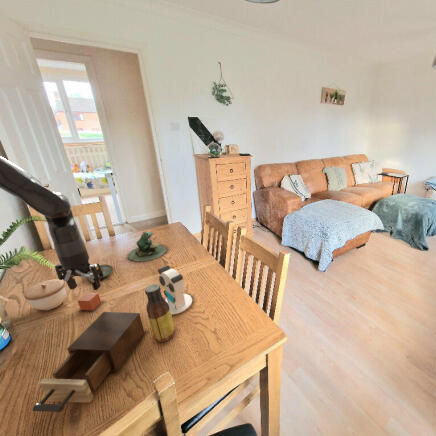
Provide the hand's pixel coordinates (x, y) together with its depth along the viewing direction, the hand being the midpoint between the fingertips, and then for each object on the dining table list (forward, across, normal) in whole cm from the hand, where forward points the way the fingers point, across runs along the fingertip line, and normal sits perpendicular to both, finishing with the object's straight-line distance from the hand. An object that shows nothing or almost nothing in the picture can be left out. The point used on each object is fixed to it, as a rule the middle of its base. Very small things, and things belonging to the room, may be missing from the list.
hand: (85, 288), depth 88 cm
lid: (+8, +11, -19) cm, 23 cm away
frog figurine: (+9, +1, -40) cm, 41 cm away
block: (+8, 0, 0) cm, 8 cm away
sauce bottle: (+8, -34, +12) cm, 37 cm away
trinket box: (+8, +15, 0) cm, 17 cm away
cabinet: (+8, -21, +18) cm, 29 cm away
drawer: (+7, -21, +30) cm, 37 cm away
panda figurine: (+8, -31, -3) cm, 32 cm away
